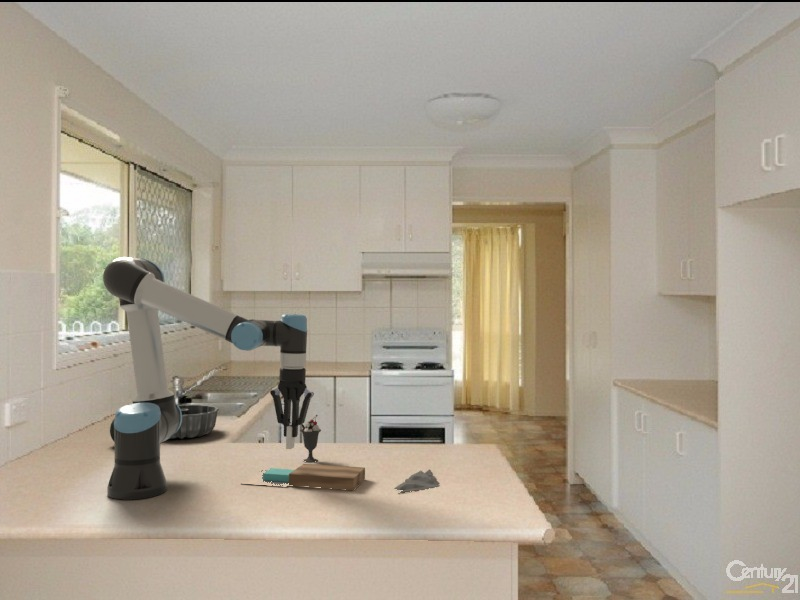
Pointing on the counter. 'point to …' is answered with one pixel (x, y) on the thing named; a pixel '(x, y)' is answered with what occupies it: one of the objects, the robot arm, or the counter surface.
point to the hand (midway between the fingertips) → (290, 447)
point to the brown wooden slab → (327, 476)
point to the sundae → (310, 437)
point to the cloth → (418, 482)
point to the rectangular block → (277, 475)
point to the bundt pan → (196, 421)
